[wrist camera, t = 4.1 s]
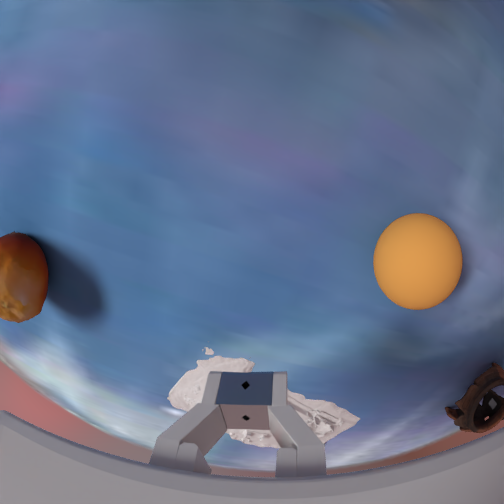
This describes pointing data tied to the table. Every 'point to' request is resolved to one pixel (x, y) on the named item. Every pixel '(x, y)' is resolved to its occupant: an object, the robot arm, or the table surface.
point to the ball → (417, 261)
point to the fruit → (21, 277)
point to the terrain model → (311, 411)
